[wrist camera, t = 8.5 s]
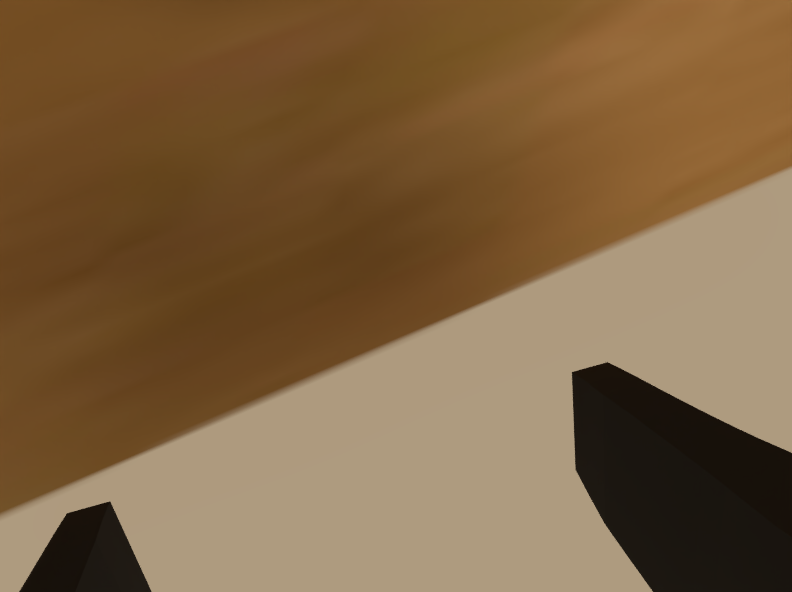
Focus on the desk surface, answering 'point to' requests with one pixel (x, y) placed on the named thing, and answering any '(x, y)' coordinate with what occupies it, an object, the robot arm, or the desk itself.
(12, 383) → the desk surface
